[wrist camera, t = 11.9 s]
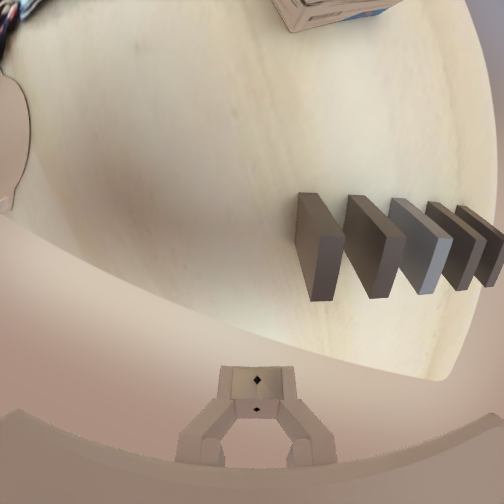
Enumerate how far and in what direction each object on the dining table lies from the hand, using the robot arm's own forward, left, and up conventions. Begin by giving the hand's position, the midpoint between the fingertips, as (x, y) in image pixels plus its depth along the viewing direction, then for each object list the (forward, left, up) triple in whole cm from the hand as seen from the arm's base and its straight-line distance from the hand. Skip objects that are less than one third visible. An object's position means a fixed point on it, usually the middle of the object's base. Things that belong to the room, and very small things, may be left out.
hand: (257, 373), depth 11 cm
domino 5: (+23, 0, -15) cm, 27 cm away
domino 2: (+9, 0, -15) cm, 18 cm away
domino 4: (+18, 0, -15) cm, 24 cm away
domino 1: (+5, 0, -15) cm, 16 cm away
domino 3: (+14, 0, -15) cm, 20 cm away
